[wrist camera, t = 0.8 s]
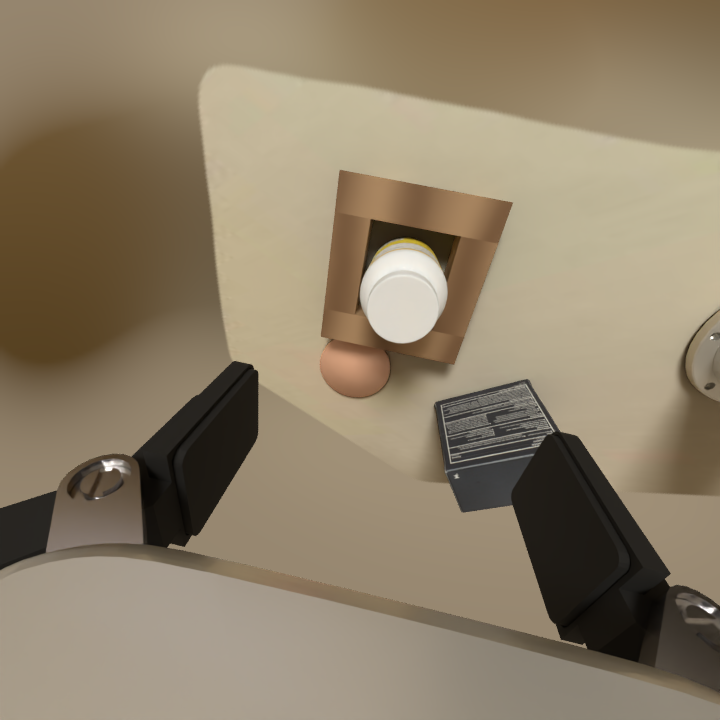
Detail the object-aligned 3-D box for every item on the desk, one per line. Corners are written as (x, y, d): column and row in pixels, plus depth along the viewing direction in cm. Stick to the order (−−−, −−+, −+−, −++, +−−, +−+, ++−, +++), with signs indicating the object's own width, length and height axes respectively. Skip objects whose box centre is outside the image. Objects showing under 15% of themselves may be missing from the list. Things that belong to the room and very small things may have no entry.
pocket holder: (502, 201, 26) (512, 202, 24) (450, 350, 34) (453, 364, 31) (346, 171, 27) (339, 169, 24) (327, 325, 34) (320, 336, 32)
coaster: (397, 341, 34) (397, 344, 33) (382, 400, 38) (382, 403, 37) (325, 326, 34) (323, 328, 34) (318, 386, 38) (316, 389, 38)
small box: (448, 441, 40) (460, 517, 31) (433, 401, 37) (441, 470, 28) (539, 422, 37) (582, 500, 27) (529, 376, 34) (573, 446, 25)
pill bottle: (399, 315, 33) (395, 373, 22) (357, 268, 31) (331, 307, 21) (452, 273, 30) (475, 317, 20) (409, 219, 28) (409, 236, 18)
